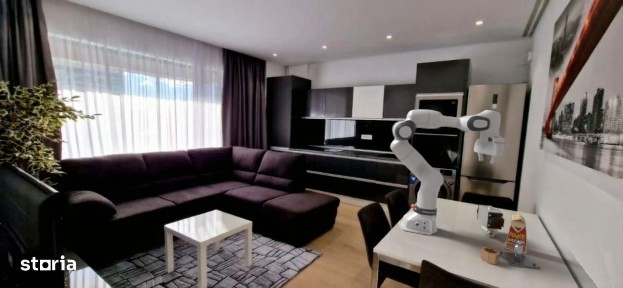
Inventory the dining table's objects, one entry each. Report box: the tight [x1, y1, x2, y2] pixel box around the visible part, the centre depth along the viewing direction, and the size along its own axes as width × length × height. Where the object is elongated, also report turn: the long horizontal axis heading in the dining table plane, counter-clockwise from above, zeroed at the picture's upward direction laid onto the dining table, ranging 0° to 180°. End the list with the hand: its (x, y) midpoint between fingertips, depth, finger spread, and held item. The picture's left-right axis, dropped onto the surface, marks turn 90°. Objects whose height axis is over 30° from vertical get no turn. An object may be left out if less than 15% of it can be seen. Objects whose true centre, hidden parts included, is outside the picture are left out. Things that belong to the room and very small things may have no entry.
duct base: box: [497, 240, 541, 270], centre depth 122 cm, size 12×12×10 cm
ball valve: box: [476, 204, 505, 238], centre depth 150 cm, size 18×8×18 cm, turn 168°
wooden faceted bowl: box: [480, 246, 500, 265], centre depth 121 cm, size 7×7×5 cm
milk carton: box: [503, 211, 528, 255], centre depth 133 cm, size 9×9×20 cm
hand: (486, 162), depth 144 cm, fingers open, 8 cm apart
